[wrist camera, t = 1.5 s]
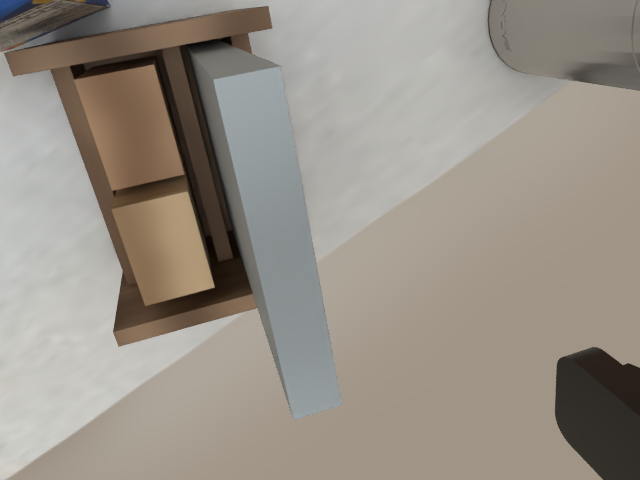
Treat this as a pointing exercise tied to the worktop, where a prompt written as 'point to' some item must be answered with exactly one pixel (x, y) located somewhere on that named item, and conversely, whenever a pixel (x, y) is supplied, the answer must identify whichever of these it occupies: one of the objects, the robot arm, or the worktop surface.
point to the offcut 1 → (131, 121)
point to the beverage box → (40, 18)
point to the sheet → (268, 214)
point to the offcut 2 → (164, 238)
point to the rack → (186, 109)
